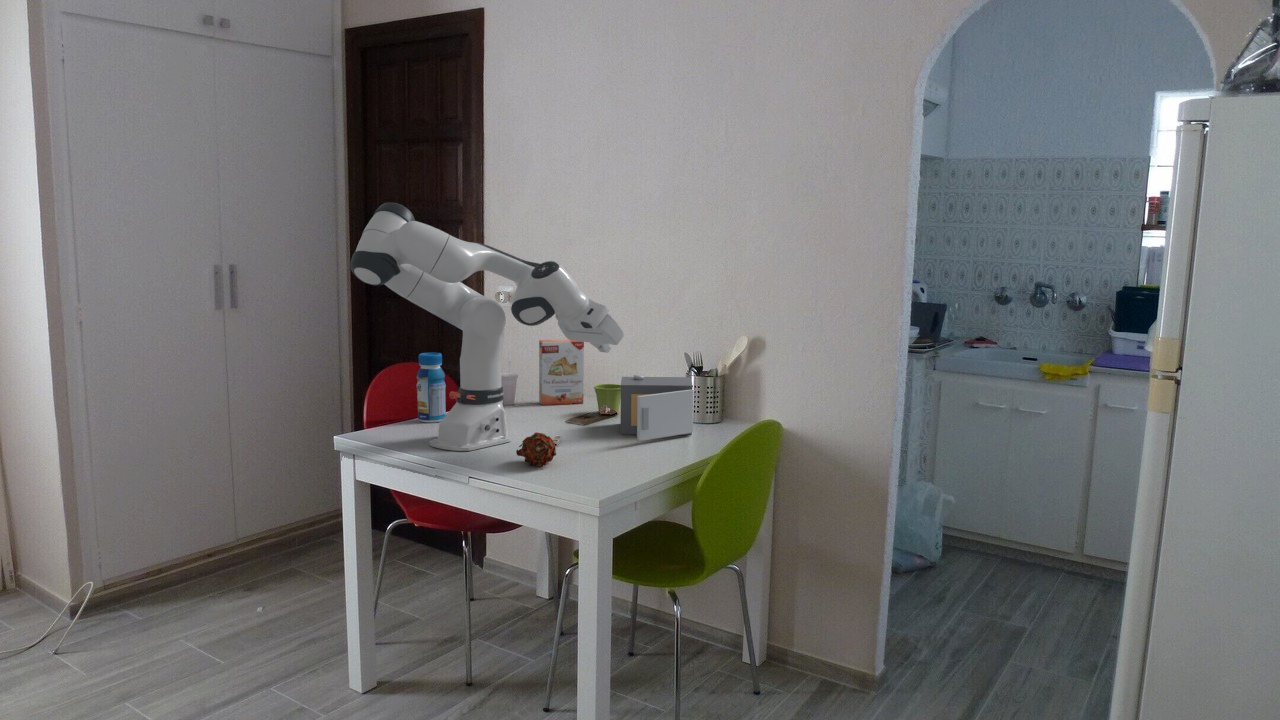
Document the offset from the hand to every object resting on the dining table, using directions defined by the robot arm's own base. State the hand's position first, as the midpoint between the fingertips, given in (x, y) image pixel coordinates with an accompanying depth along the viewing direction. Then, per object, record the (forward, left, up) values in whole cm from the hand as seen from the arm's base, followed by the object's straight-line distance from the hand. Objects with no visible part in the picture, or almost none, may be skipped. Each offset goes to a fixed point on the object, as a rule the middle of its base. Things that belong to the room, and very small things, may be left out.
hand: (605, 350), depth 243 cm
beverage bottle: (-2, +60, -26) cm, 66 cm away
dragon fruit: (-26, +4, -26) cm, 37 cm away
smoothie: (+30, +57, -26) cm, 69 cm away
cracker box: (+40, +43, -26) cm, 64 cm away
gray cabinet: (+23, -2, -25) cm, 34 cm away
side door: (+13, -11, -24) cm, 30 cm away
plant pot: (+34, +21, -26) cm, 47 cm away
